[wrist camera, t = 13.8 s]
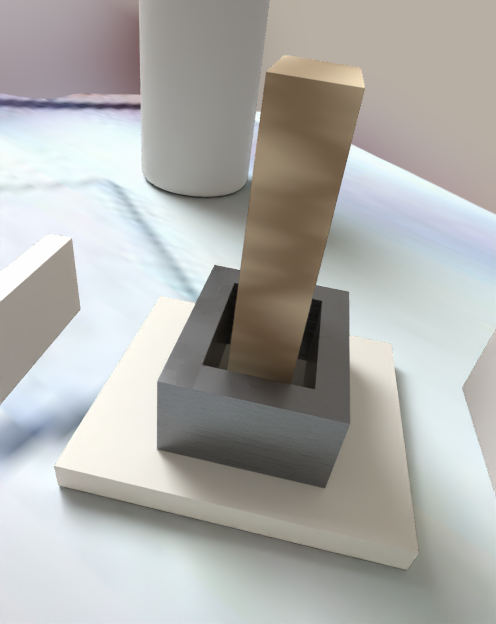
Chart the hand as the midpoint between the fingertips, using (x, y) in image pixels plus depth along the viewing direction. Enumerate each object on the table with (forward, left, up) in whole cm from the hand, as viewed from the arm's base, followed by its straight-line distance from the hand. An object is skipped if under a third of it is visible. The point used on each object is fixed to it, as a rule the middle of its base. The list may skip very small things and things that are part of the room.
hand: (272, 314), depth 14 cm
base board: (0, +6, -11) cm, 13 cm away
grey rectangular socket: (0, +6, -10) cm, 12 cm away
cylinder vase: (-13, +40, -12) cm, 44 cm away
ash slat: (0, +6, -10) cm, 12 cm away
